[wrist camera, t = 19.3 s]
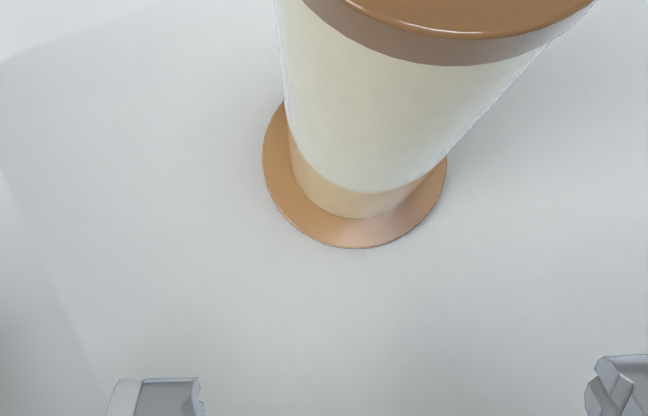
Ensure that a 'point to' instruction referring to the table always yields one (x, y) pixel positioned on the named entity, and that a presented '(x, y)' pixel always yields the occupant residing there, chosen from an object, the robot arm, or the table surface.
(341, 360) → the table surface
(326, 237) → the coaster
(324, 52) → the cylindrical canister
